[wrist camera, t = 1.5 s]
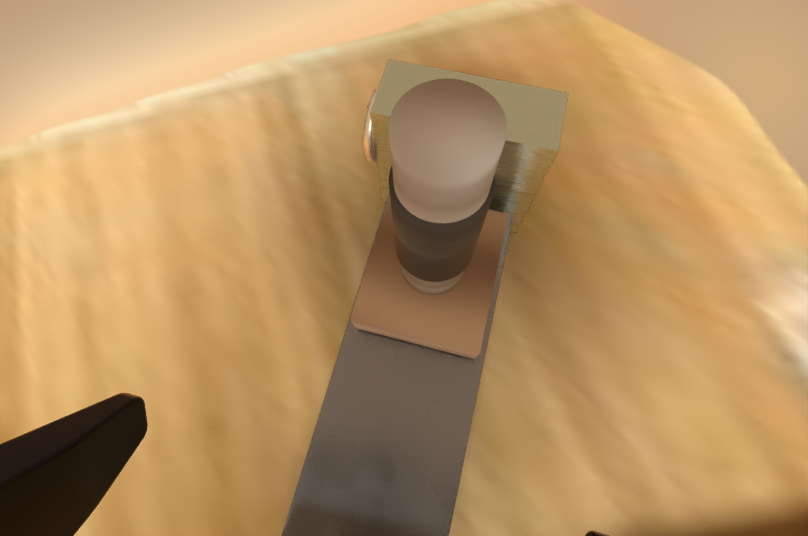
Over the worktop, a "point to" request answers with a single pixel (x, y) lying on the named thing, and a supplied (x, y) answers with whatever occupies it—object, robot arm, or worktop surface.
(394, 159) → the carriage
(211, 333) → the worktop surface
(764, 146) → the worktop surface
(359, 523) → the rail
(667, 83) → the worktop surface
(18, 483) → the robot arm
